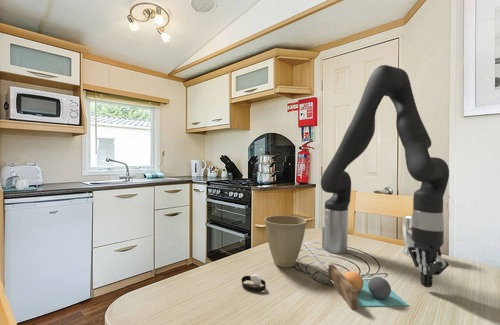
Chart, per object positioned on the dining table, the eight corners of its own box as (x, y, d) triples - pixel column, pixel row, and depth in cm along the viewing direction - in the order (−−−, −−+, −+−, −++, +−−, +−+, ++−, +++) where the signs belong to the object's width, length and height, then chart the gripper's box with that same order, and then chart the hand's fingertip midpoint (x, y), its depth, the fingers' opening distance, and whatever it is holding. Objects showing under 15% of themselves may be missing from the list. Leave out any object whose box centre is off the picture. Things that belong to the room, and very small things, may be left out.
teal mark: (356, 306, 63) (356, 305, 63) (335, 280, 77) (335, 279, 77) (409, 305, 64) (409, 305, 64) (378, 279, 78) (378, 279, 78)
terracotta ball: (336, 286, 71) (342, 267, 72) (346, 285, 75) (351, 267, 75) (354, 297, 67) (360, 277, 67) (364, 295, 70) (369, 276, 71)
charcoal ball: (361, 290, 69) (369, 276, 67) (370, 282, 72) (378, 269, 70) (380, 307, 65) (389, 293, 63) (388, 298, 69) (397, 284, 67)
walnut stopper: (357, 309, 62) (357, 291, 62) (351, 309, 62) (351, 291, 62) (333, 278, 78) (333, 264, 78) (328, 278, 78) (328, 264, 78)
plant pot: (314, 267, 86) (315, 222, 86) (278, 275, 80) (279, 226, 80) (289, 252, 100) (290, 213, 100) (256, 259, 93) (257, 216, 93)
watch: (268, 288, 73) (268, 276, 73) (261, 295, 69) (261, 282, 68) (246, 281, 76) (246, 269, 76) (237, 288, 72) (238, 275, 72)
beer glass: (426, 258, 96) (426, 220, 95) (406, 257, 97) (406, 218, 97) (417, 252, 102) (418, 216, 102) (399, 250, 104) (399, 215, 104)
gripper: (460, 233, 65) (458, 298, 65) (422, 220, 78) (421, 275, 78) (432, 233, 65) (431, 299, 65) (399, 220, 78) (398, 275, 78)
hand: (426, 285), depth 72 cm, fingers closed
